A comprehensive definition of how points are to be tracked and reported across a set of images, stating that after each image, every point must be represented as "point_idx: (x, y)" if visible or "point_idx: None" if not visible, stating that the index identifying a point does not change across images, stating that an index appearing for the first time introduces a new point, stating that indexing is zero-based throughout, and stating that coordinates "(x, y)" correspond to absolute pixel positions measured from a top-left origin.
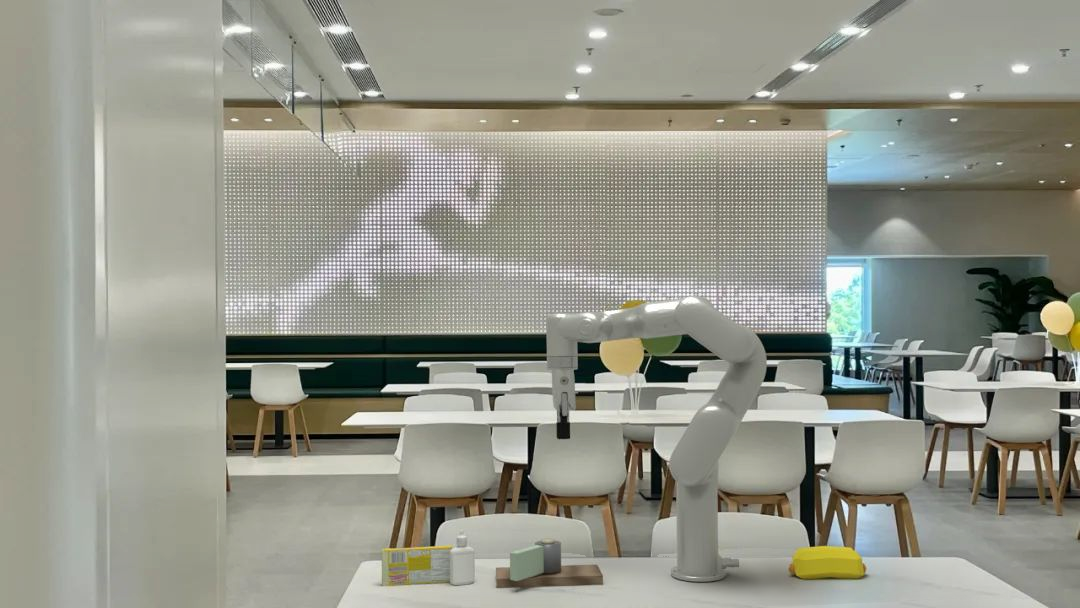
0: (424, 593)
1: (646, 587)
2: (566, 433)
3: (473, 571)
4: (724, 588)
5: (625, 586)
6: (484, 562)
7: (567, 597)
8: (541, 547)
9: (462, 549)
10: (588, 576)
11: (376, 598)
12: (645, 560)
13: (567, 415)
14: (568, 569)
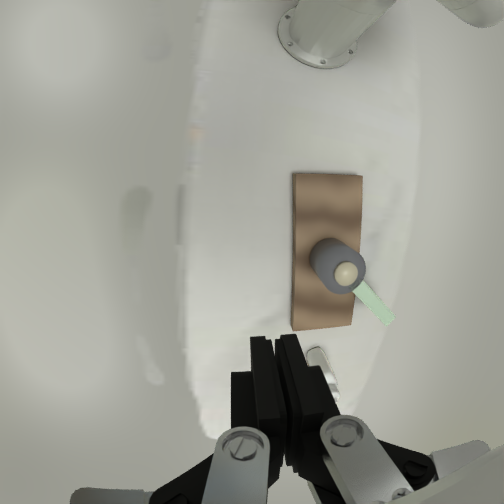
0: (346, 384)
1: (374, 118)
2: (321, 373)
3: (323, 355)
4: (377, 33)
5: (368, 145)
6: (210, 341)
7: (402, 232)
8: (364, 282)
9: (336, 384)
10: (361, 197)
11: (349, 412)
12: (215, 85)
13: (431, 458)
14: (322, 225)
